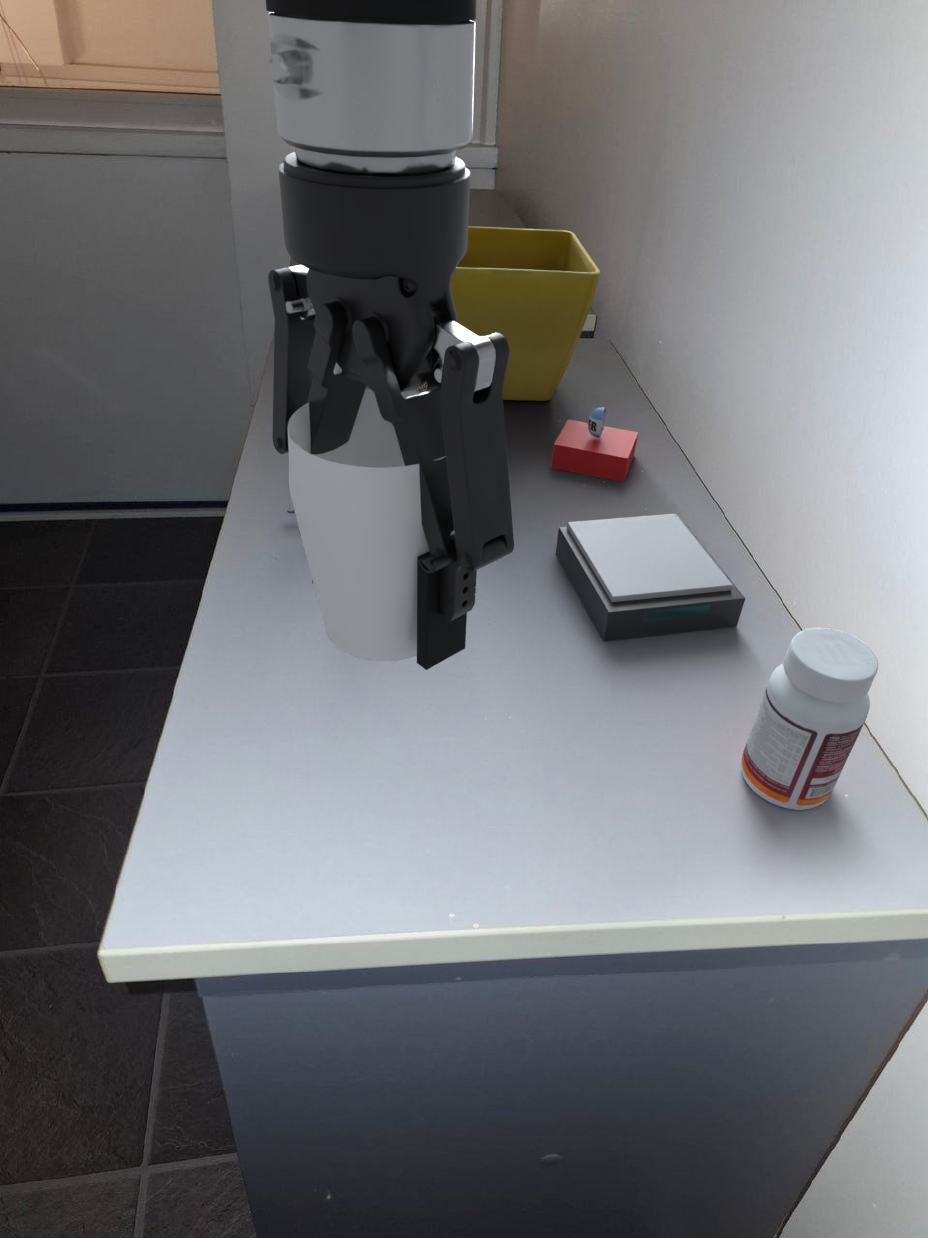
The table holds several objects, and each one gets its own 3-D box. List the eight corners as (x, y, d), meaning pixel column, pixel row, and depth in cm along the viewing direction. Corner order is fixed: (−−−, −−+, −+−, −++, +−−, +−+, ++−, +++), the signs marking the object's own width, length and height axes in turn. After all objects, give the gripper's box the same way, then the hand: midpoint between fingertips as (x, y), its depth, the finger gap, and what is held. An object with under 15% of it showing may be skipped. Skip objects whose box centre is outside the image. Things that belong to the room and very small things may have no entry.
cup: (271, 618, 48) (246, 416, 40) (398, 562, 53) (397, 373, 45) (368, 703, 42) (360, 490, 35) (500, 632, 47) (516, 432, 40)
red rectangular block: (551, 467, 93) (557, 413, 89) (565, 442, 99) (572, 389, 95) (623, 481, 92) (633, 427, 88) (634, 455, 97) (644, 402, 93)
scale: (737, 626, 72) (747, 592, 70) (603, 641, 70) (610, 606, 68) (674, 544, 82) (681, 511, 80) (555, 554, 80) (559, 521, 77)
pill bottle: (827, 757, 61) (883, 632, 54) (833, 823, 56) (895, 696, 49) (738, 737, 62) (781, 613, 55) (737, 801, 57) (784, 673, 50)
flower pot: (557, 356, 120) (572, 228, 110) (582, 413, 105) (602, 271, 95) (422, 353, 118) (424, 223, 108) (428, 411, 103) (431, 267, 93)
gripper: (155, 121, 37) (223, 556, 51) (499, 219, 25) (467, 754, 39) (299, 110, 41) (327, 515, 55) (653, 190, 29) (576, 683, 43)
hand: (385, 614), depth 47 cm, fingers closed on cup, 9 cm apart
